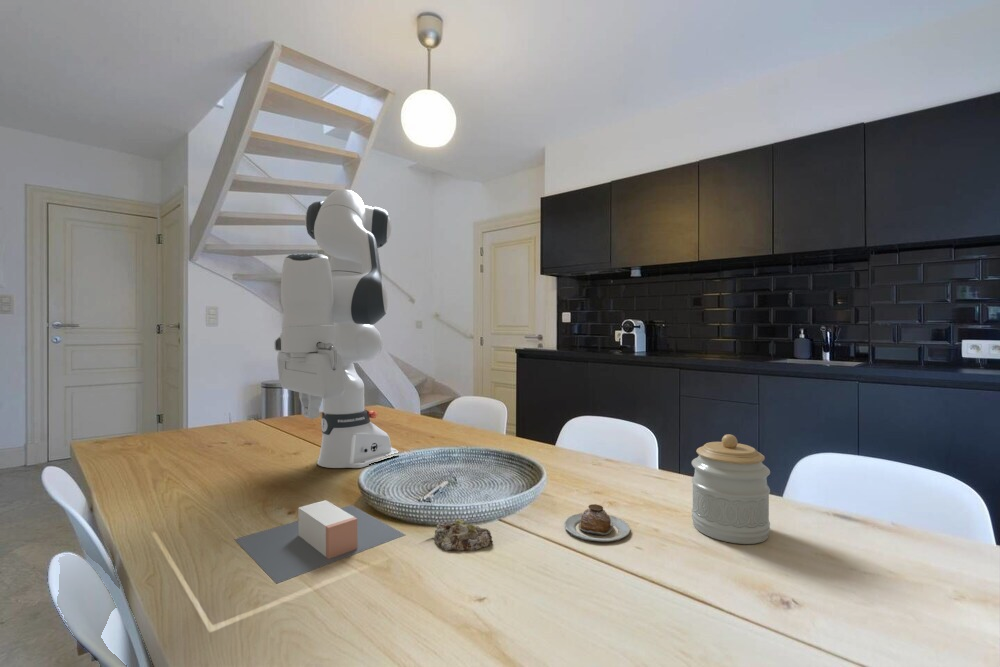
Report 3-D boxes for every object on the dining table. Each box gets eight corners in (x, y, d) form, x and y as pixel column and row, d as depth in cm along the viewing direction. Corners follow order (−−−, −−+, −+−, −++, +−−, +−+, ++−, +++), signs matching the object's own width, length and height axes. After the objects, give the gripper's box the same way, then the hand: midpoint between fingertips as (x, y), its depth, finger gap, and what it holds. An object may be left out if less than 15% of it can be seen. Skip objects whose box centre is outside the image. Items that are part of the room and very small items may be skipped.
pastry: (581, 513, 94) (581, 491, 94) (639, 528, 87) (639, 503, 87) (552, 535, 84) (552, 509, 84) (615, 553, 77) (615, 525, 77)
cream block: (325, 500, 86) (357, 518, 77) (325, 526, 86) (357, 548, 77) (298, 507, 82) (328, 527, 74) (298, 535, 82) (328, 558, 74)
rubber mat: (351, 507, 96) (351, 504, 96) (405, 538, 82) (405, 534, 82) (234, 542, 81) (234, 539, 81) (276, 587, 67) (276, 583, 67)
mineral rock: (424, 537, 78) (442, 507, 85) (426, 558, 79) (444, 527, 87) (484, 547, 75) (497, 515, 83) (486, 569, 76) (499, 535, 84)
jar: (766, 522, 89) (766, 430, 88) (774, 552, 77) (774, 446, 77) (692, 511, 94) (692, 424, 94) (689, 537, 82) (689, 438, 82)
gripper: (353, 342, 79) (355, 422, 79) (303, 340, 93) (305, 408, 94) (316, 344, 74) (319, 429, 75) (270, 341, 89) (272, 413, 89)
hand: (311, 417), depth 84 cm, fingers closed
